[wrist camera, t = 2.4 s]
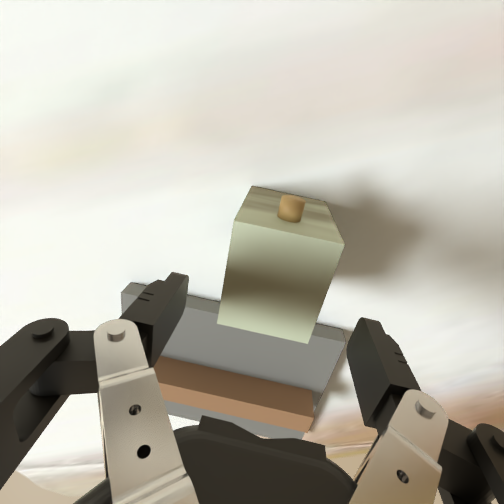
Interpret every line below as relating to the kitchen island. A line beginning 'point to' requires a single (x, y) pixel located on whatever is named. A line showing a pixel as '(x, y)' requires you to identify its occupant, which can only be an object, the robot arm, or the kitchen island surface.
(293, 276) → the sage block
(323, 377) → the cleat board
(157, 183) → the kitchen island surface
